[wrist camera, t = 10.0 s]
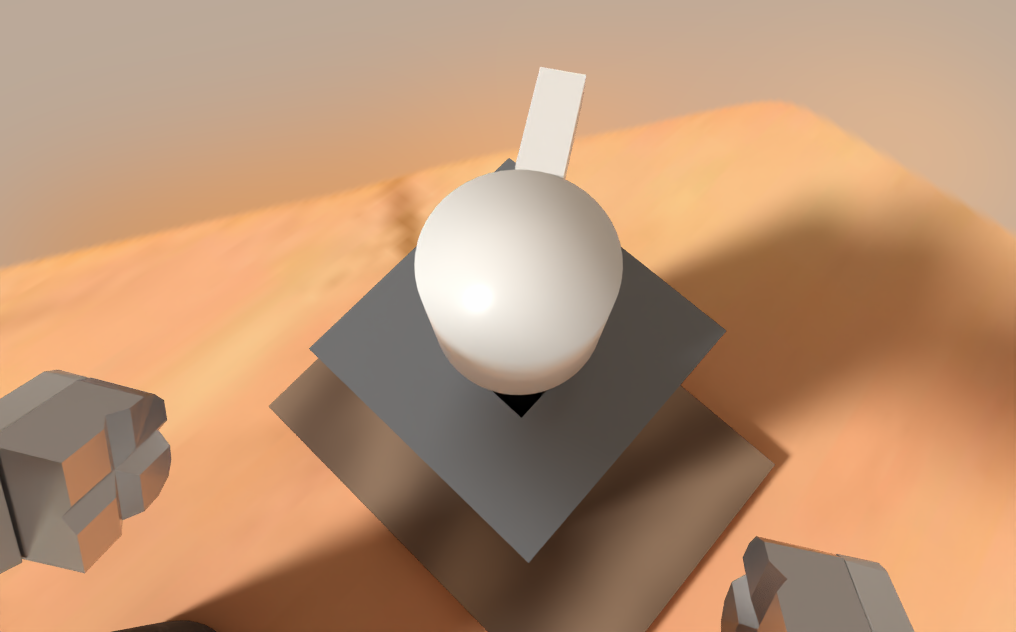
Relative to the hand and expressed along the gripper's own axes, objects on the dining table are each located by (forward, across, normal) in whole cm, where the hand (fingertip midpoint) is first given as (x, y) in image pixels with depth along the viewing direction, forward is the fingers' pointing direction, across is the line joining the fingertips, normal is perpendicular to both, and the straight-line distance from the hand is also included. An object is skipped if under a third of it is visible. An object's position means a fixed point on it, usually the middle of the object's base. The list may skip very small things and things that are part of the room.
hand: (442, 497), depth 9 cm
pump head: (+15, 0, +7) cm, 17 cm away
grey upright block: (+21, 0, +15) cm, 26 cm away
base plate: (+22, 0, +16) cm, 28 cm away
